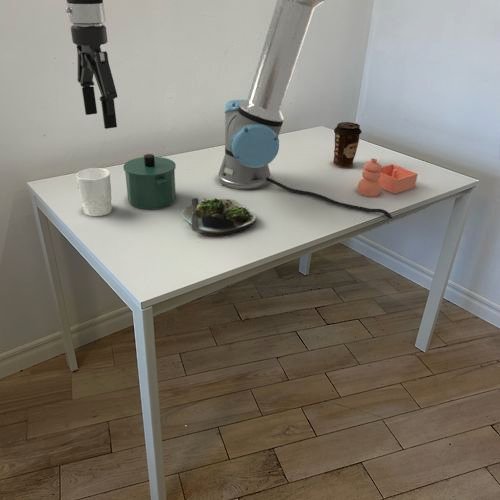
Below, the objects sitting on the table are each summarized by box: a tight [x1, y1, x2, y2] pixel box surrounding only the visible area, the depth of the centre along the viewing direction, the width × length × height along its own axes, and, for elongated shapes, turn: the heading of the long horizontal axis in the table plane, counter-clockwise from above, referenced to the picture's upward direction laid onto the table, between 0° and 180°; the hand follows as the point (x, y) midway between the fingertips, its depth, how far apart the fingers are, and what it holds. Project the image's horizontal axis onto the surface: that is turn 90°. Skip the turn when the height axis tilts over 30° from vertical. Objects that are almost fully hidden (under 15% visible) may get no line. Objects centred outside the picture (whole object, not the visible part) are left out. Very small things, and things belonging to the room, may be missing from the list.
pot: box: [124, 170, 177, 210], centre depth 132 cm, size 12×18×9 cm
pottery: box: [357, 158, 419, 198], centre depth 143 cm, size 18×10×10 cm, turn 126°
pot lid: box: [123, 153, 177, 177], centre depth 129 cm, size 13×13×4 cm
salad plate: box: [181, 197, 257, 238], centre depth 124 cm, size 19×18×5 cm
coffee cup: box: [332, 121, 362, 169], centre depth 158 cm, size 9×8×13 cm
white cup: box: [75, 167, 113, 217], centre depth 124 cm, size 8×8×10 cm
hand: (100, 120), depth 121 cm, fingers open, 13 cm apart
